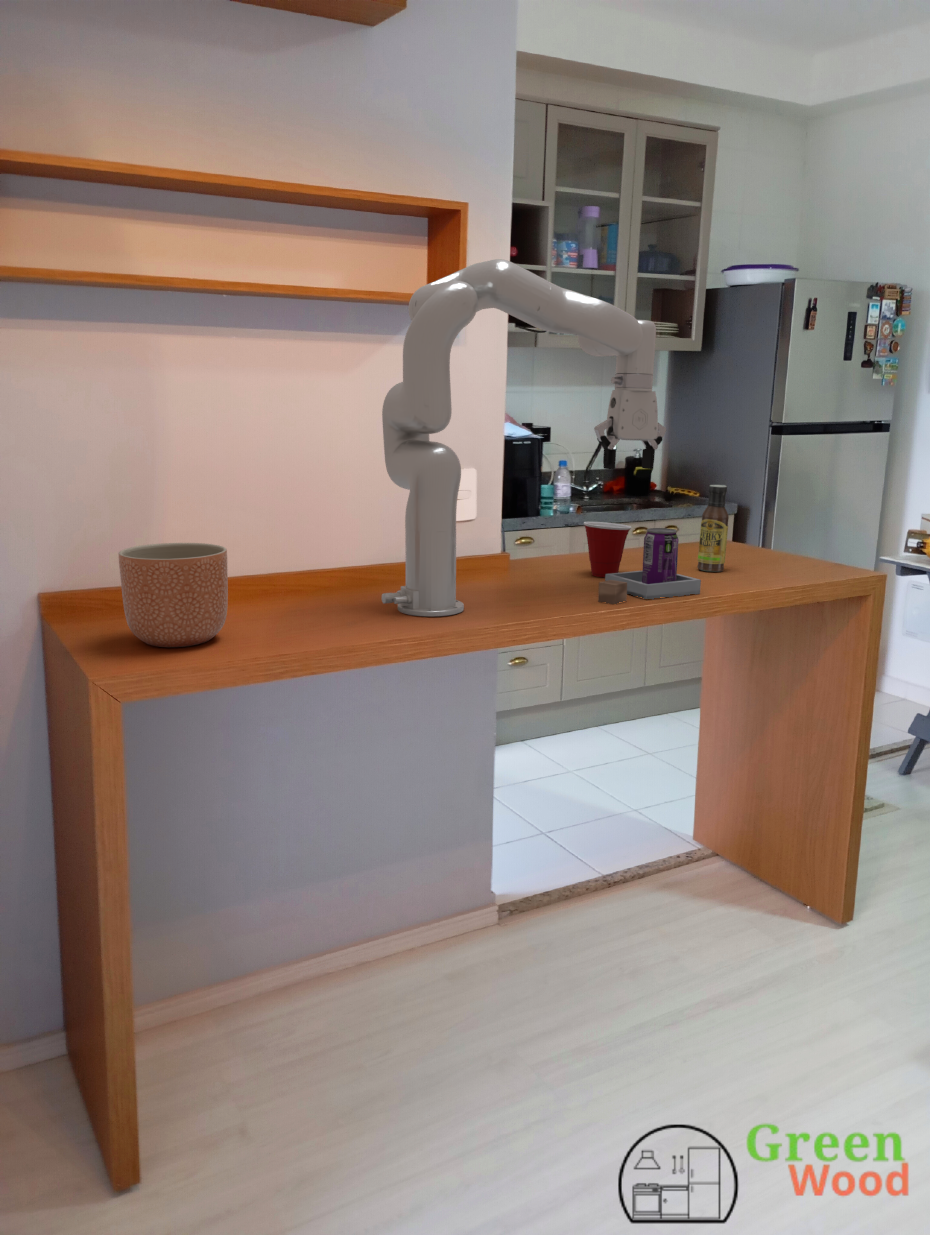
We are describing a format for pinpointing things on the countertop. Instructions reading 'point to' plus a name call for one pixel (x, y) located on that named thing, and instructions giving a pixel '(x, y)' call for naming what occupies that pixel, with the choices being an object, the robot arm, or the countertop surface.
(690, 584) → the tray
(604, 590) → the walnut block
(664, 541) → the beverage can
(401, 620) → the countertop surface
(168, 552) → the planter
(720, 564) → the sauce bottle
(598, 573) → the plastic cup
